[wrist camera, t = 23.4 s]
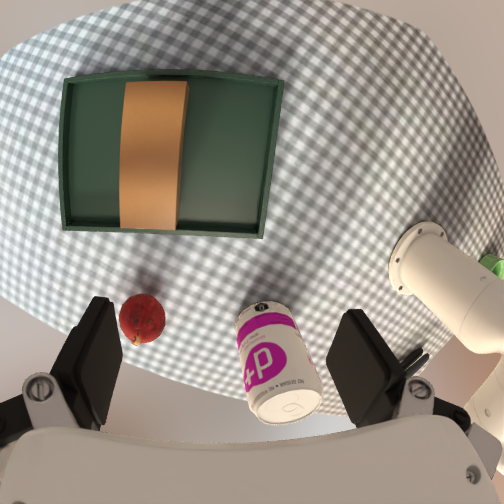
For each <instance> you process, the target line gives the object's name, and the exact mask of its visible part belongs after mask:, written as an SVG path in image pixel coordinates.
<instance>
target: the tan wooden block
mask: <svg viewBox="0 0 504 504" xmlns="http://www.w3.org/2000/svg"><path fill="white" fill-rule="evenodd" d="M188 96H189V85H188V83H187V81H137V82H126V88H125V97H124V106H123V116H122V128H121V144H120V174H119V199H120V228H137V229H163V230H176V226H177V223H178V219H179V203H180V184H181V168H182V154H183V143H184V132H185V122H186V112H187V104H188Z"/></svg>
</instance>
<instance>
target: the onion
mask: <svg viewBox="0 0 504 504" xmlns="http://www.w3.org/2000/svg"><path fill="white" fill-rule="evenodd" d="M119 322H120V327H121V329H122V331H123V333H124V334H125V336H126V337H127V338H129V339H130V340H131V341H132V344H133V345H135V346H137V345H139V344H141V343H147V342H151V341H153V340H155V339H156V338H158V337H159V336H160V335H161V333H162V331H163V329H164V327H165V312H164V309H163V307H162V305H161V304H160V303H159V302H158V301H157V300H156V299H155V298H154V297H152V296H150V295H147V294H137V295H134V296H131V297H129V298H128V299H127V300H126V301H125V303H124V304H123V305H122V307H121V310H120V314H119Z"/></svg>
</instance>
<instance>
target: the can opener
mask: <svg viewBox="0 0 504 504" xmlns="http://www.w3.org/2000/svg"><path fill="white" fill-rule="evenodd" d="M422 353H423V349H422V348H419V349H418V350H416V351H415V352H413V353H412V354H410V355H409V356H408V357H407V358H406V359H404V360H403V361H402V362H401V363H400V364H401V366H402V367H403V368H404V370H405V371H406V373H407V374H406V376H405V378H406V379H408V378H410V377H411V376H413V375H414V374H415V373H416V372H417V371H418V370H419V369H420V368H421V367H422V366H423V365H424V364H425V363H426V362H427V361H428V359H429V354H428V353H427V354H425V355H423V356H422V357H421V358H420V359H419V360H418V361H416V360H417V359H418V358H419V357H420V356H421V355H422ZM415 361H416V362H415ZM414 362H415V363H414ZM413 363H414V364H413ZM412 364H413V365H412ZM410 365H411V366H410ZM409 366H410V367H409ZM408 367H409V368H408ZM407 368H408V369H407Z"/></svg>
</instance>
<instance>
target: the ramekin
mask: <svg viewBox="0 0 504 504" xmlns="http://www.w3.org/2000/svg"><path fill="white" fill-rule="evenodd" d="M479 263H480V264H481V265H483V266H484V267H485V268H487V269H488V270H490V271H491V272H492V273H494V274H495V275H496V276H498V277H499V278H500V279H502V280H503V278H504V259H500V258H498V257H497V256H495V255H493V254H486V255H485V256H484V257H483V258H482V259H481V260H480V262H479Z"/></svg>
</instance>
